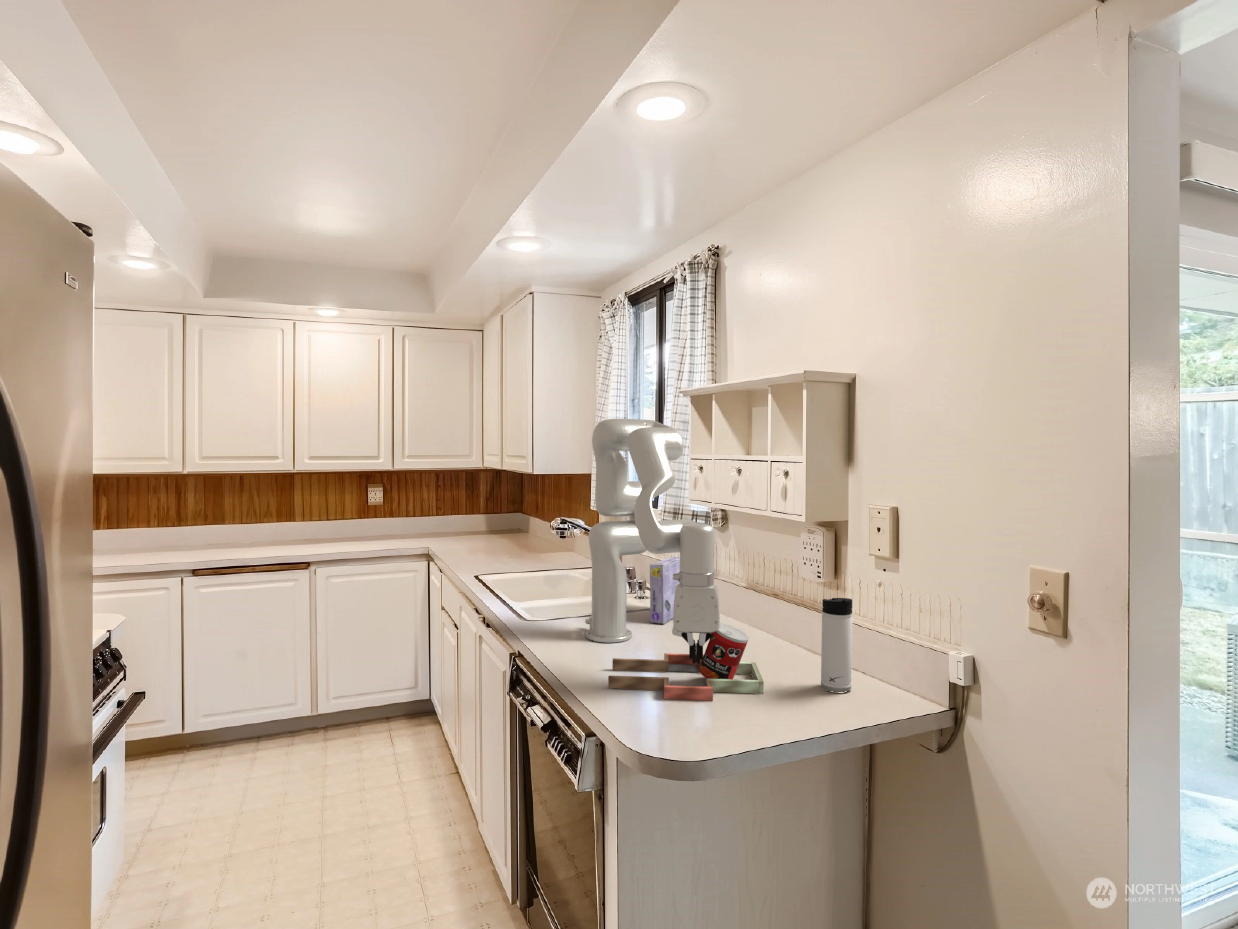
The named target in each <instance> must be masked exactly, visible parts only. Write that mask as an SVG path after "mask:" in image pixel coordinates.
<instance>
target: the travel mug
mask: <svg viewBox="0 0 1238 929" xmlns="http://www.w3.org/2000/svg"><path fill="white" fill-rule="evenodd" d="M852 650H853V598H847V597H832V598H831V599H830V598H829V599H827V598H823V599H822V610H821V650H820V653H821V659H820V661H821V662H820V687H821V689H822V690H824V691H826V690H827V691H826V692H828V691H833V692H845V691H849V690H850V689H851V690H852V665H853V663H852V661H853V660H852V659H853V658H852V657H853V654H852V652H853V651H852ZM849 692H850V691H849Z"/></svg>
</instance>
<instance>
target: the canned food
mask: <svg viewBox="0 0 1238 929" xmlns="http://www.w3.org/2000/svg"><path fill="white" fill-rule="evenodd" d="M748 642H749V636H748V634H746V632H744V631H742V629H739V628H737V627H735V626H733V625H730V624H726V623H720V628H719V629H717V631H716V632H715V633H712V635H711V638H710V639H709V640H708V643H707V645H706V648H705V651H704V652H703V654H704V656H703V659H702V661H701V664H700V670H699V671H700V673H699V674H701V676H702V677H703V678H704V679H735V675H736V674H735V673H736V670H737V668H738V665H739V663H740V662H741V660H742V657H743V654H744V652H745V649H746V647H747V645H748Z"/></svg>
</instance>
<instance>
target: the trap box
mask: <svg viewBox="0 0 1238 929" xmlns="http://www.w3.org/2000/svg"><path fill="white" fill-rule="evenodd" d="M663 654H664V655H663V659H647V658H646V659H645V658H617V657H615V658H614V657H612V664H611V665H612V669H611V671H618V670H619V671H622V672H623V671H624V672H625V671H626V672H629V671H630V672H652V673H653V672H655V673H656V672H658V673H659V672H660V673H686V674H687V673H689V674H690V673H691V674H701V673H700V671H699V670H700V664H701V661H702V659H700V664H697V662H696V663H695V664H693V662H692V659H689V653H667V652H666V653H663ZM703 656H704V653H703ZM749 674H752V675H751V677H752V679H735V678H733V679H706V678H705V679H706V681H705V682H706V684H705V686H698V685H697V686H694V685H691V686H690V685H670V677H669V676H668V677H667V676H663V677H662V676H638V675H637V676H635V675H633V676H632V675H608V676H607V678H608V679H607V682H608V683H607V689H608V688H620V689H619V690H638V691H640V690H642V691H643V690H645V691H663V696H664V697H663V699H664V700H679V701H680V700H681V701H682V700H683V701H710V702H711V701H714V693H728V694H729V693H731V694H732V693H734V694H736V693H737V694H739V693H740V694H760V693H762V695H763V694H764V693H765V692H764V688H765V687H764V686H765V683H764V682H765V681H764V680H763V677H762V674H761V672H760V670H759V668H758V666H757V663H756V662H754V661H753V662H751V661H750V662H749V661H740V663H739V665H738V668H737V670H736V673H735V675H749Z"/></svg>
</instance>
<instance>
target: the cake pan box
mask: <svg viewBox="0 0 1238 929" xmlns="http://www.w3.org/2000/svg"><path fill="white" fill-rule="evenodd" d="M678 572H680V556H676V557H675V556H673V557H672V556H671V557H668V558H665V559H661V560H659V561H657V562H653V563H650V564H649V598H650V599H649V614H650V617H649V618H650V621H649V622H650V623H653V624H660V625H665V624H666V623H669V621H671V620H672V621H673V612H674V598H675V590H676V586H677V585H678V584H680V582H678V581H677V580H673V574H677V573H678Z"/></svg>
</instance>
